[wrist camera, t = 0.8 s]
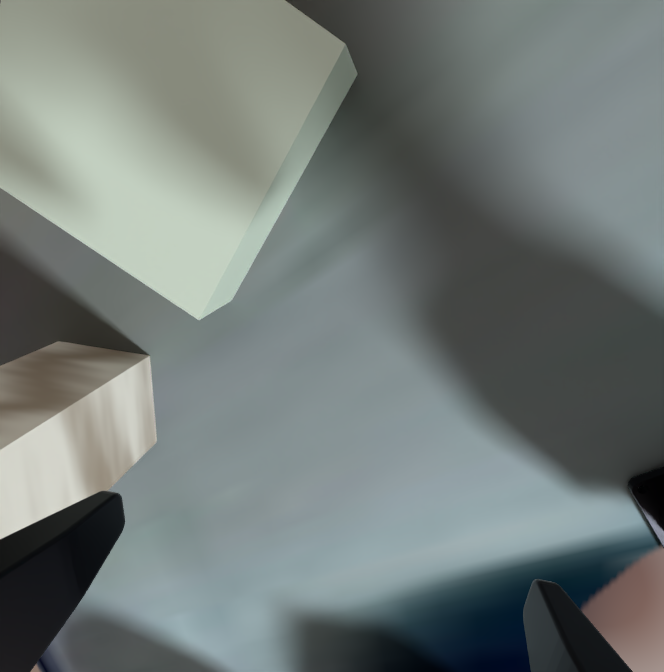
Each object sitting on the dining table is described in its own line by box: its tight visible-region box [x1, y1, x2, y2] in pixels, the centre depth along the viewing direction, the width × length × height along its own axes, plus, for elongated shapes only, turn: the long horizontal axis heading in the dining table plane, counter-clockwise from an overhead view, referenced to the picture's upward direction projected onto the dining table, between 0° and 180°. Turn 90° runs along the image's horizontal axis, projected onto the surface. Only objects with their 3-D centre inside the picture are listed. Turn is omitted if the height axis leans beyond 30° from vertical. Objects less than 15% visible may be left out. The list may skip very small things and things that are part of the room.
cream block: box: [0, 341, 157, 539], centre depth 19 cm, size 6×6×13 cm
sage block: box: [0, 0, 358, 320], centre depth 17 cm, size 12×12×4 cm
